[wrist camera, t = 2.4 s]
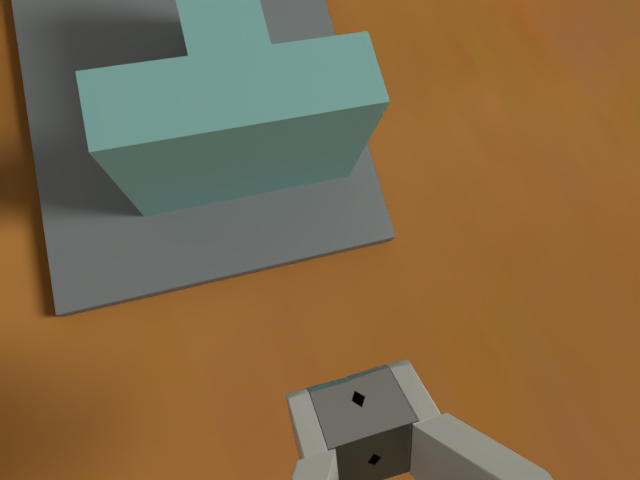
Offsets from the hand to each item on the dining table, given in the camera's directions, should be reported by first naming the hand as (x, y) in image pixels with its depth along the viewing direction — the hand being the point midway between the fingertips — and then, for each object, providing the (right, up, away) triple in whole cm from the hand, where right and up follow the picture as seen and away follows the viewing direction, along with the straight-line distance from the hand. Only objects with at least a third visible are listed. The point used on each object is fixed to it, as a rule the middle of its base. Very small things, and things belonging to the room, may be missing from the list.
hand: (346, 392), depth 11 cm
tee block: (-7, +13, +21) cm, 25 cm away
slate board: (-9, +14, +22) cm, 28 cm away
